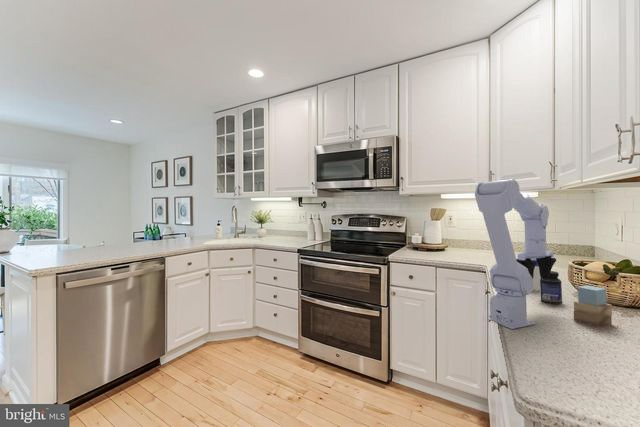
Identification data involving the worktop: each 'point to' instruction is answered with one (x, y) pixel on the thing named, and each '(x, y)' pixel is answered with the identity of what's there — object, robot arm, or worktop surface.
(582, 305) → the slab upper
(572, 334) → the worktop surface
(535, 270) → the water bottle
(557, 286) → the pill bottle
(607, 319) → the slab lower
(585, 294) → the cube
